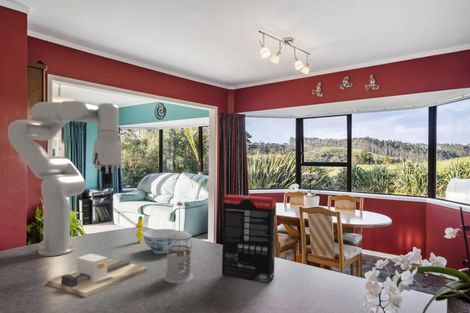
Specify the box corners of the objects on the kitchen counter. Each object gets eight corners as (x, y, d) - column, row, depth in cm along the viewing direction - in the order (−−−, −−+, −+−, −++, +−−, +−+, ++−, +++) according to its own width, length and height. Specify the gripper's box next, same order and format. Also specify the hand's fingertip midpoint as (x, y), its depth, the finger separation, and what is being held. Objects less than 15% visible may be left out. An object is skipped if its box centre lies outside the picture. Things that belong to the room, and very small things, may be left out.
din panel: (47, 283, 98) (47, 272, 98) (111, 261, 119) (111, 252, 119) (85, 297, 89) (85, 284, 89) (146, 270, 110) (146, 260, 110)
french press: (157, 280, 102) (158, 202, 102) (176, 268, 113) (177, 198, 113) (183, 285, 98) (185, 204, 99) (201, 272, 109) (202, 200, 109)
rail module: (76, 276, 101) (77, 257, 101) (90, 271, 105) (90, 253, 105) (94, 281, 97) (95, 262, 97) (108, 276, 101) (108, 257, 101)
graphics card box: (275, 277, 106) (277, 196, 106) (271, 285, 100) (272, 198, 100) (227, 270, 112) (229, 193, 112) (220, 277, 105) (222, 195, 105)
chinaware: (187, 250, 135) (187, 232, 135) (161, 259, 123) (161, 239, 123) (162, 244, 143) (162, 227, 143) (135, 252, 131) (135, 234, 131)
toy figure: (140, 244, 142) (140, 218, 143) (132, 244, 143) (132, 217, 143) (145, 240, 149) (146, 215, 149) (138, 240, 150) (139, 215, 150)
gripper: (117, 137, 130) (116, 182, 130) (84, 134, 117) (83, 184, 117) (130, 137, 126) (129, 183, 126) (97, 134, 113) (97, 185, 113)
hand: (107, 183), depth 122 cm, fingers closed
